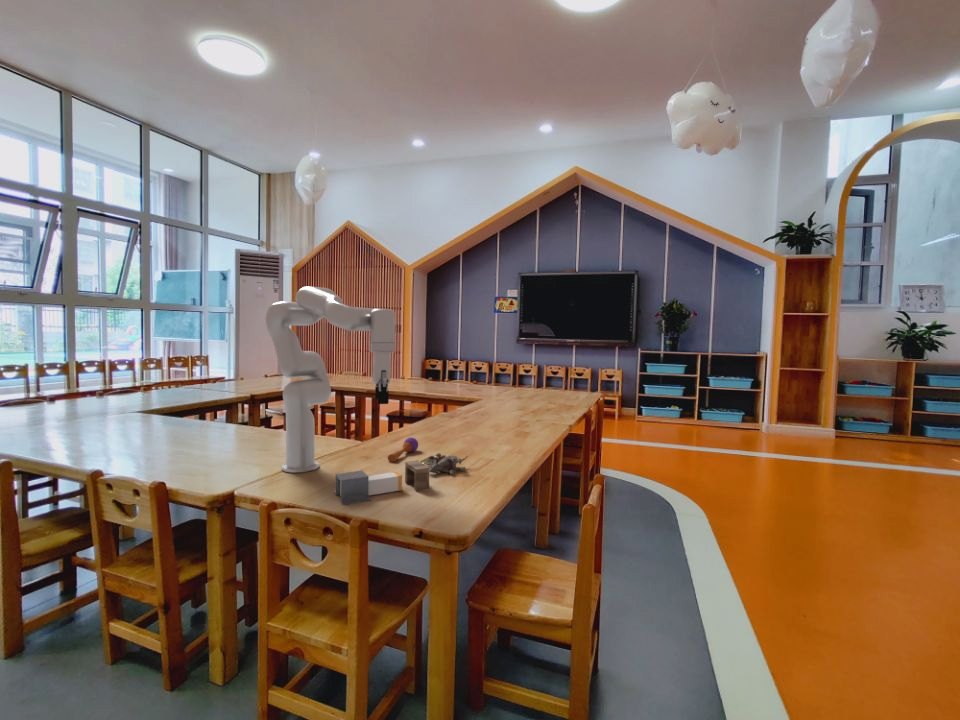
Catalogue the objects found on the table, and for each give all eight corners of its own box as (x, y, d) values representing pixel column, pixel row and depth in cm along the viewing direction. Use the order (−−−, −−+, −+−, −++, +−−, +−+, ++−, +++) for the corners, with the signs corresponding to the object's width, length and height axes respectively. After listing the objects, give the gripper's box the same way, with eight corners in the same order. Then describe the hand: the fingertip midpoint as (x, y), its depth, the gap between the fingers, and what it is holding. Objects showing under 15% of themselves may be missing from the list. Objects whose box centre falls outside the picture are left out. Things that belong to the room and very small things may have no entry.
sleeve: (333, 492, 146) (333, 471, 146) (359, 488, 150) (359, 468, 150) (343, 505, 136) (343, 482, 136) (370, 500, 140) (371, 478, 140)
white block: (339, 495, 144) (340, 479, 143) (396, 486, 153) (396, 471, 153) (344, 500, 140) (344, 484, 139) (401, 490, 149) (402, 475, 149)
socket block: (405, 482, 157) (405, 462, 156) (417, 480, 159) (417, 460, 159) (416, 491, 149) (416, 469, 149) (429, 489, 151) (429, 467, 151)
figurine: (436, 466, 159) (403, 457, 170) (437, 483, 160) (404, 473, 171) (475, 451, 174) (442, 444, 185) (475, 467, 175) (443, 459, 186)
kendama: (383, 451, 181) (406, 436, 200) (386, 466, 181) (409, 450, 200) (397, 450, 179) (419, 435, 198) (400, 465, 180) (421, 448, 199)
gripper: (368, 346, 157) (367, 397, 159) (372, 349, 141) (371, 406, 142) (391, 346, 159) (390, 397, 161) (398, 349, 143) (396, 405, 144)
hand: (381, 401), depth 151 cm, fingers open, 9 cm apart
